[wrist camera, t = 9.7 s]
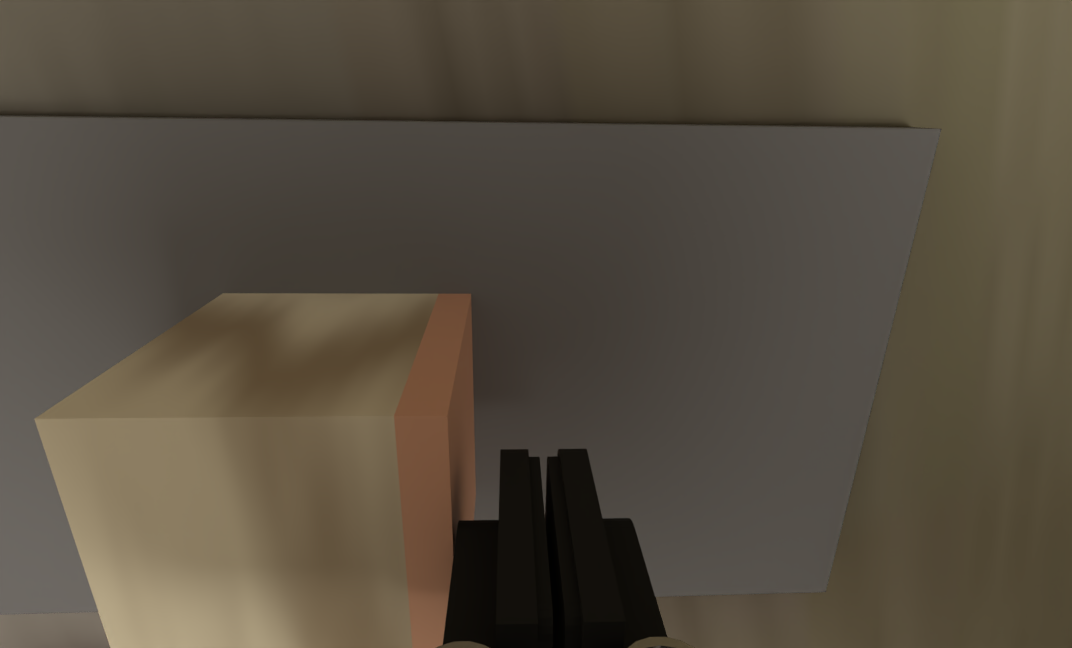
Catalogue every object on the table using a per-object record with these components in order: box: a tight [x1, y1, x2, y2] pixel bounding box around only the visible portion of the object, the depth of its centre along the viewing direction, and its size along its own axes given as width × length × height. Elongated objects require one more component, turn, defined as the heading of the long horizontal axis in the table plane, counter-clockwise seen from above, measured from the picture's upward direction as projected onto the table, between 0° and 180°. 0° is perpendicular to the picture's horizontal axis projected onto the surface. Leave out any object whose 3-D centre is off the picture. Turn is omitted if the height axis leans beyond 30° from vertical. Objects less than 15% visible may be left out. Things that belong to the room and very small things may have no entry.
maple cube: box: [34, 293, 476, 648], centre depth 12 cm, size 6×6×6 cm
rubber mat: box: [0, 115, 941, 615], centre depth 16 cm, size 28×14×1 cm, turn 89°
